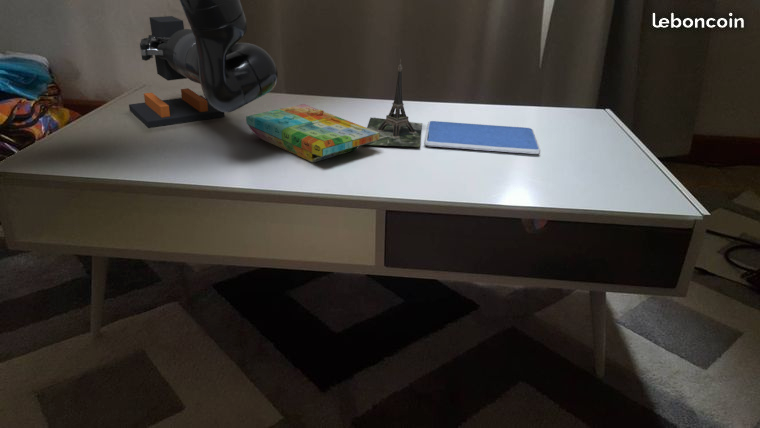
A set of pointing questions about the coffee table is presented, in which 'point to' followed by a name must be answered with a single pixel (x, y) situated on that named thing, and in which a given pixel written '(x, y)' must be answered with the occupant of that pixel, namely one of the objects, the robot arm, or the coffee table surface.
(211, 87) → the robot arm
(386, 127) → the eiffel tower figurine
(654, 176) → the coffee table surface
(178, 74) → the black block
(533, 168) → the coffee table surface
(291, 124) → the puzzle game
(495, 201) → the coffee table surface
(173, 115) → the base pad
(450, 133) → the tablet
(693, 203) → the coffee table surface
